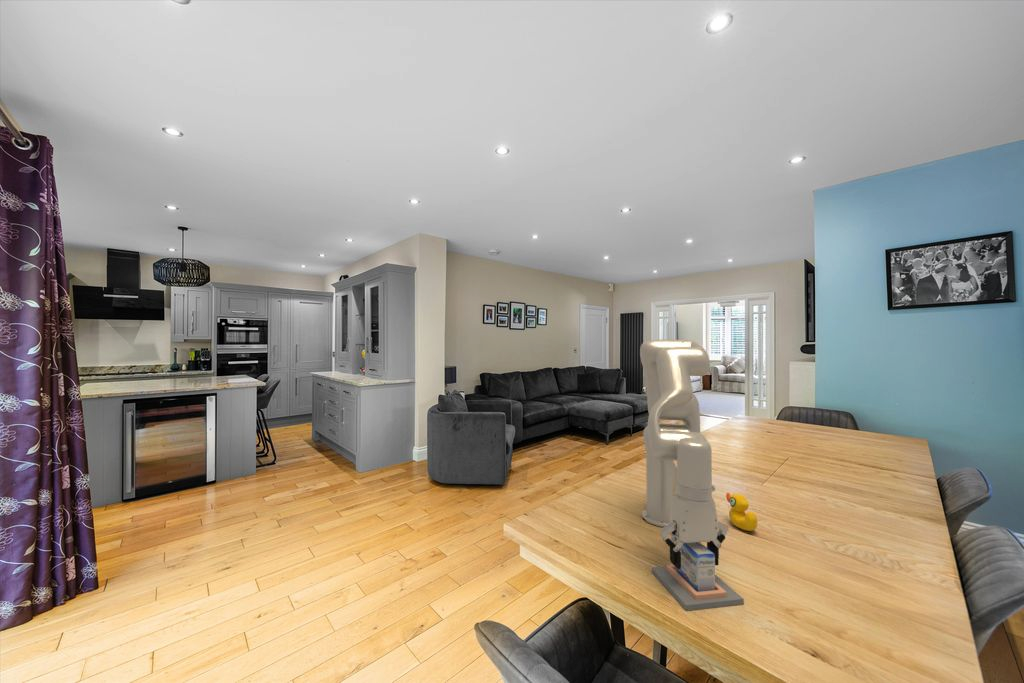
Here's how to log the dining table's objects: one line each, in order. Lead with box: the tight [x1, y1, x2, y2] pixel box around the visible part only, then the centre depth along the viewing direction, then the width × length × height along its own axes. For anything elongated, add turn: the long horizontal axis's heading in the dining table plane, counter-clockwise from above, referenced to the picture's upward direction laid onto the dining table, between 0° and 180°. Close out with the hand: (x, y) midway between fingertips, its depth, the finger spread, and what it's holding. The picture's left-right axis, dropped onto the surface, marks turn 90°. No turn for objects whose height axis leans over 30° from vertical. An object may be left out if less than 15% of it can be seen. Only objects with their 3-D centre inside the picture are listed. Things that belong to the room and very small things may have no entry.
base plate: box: [651, 564, 745, 612], centre depth 87 cm, size 14×14×2 cm
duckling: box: [725, 492, 758, 532], centre depth 118 cm, size 11×5×10 cm, turn 10°
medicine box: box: [677, 542, 716, 592], centre depth 88 cm, size 8×4×9 cm, turn 10°
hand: (694, 563), depth 88 cm, fingers open, 9 cm apart
